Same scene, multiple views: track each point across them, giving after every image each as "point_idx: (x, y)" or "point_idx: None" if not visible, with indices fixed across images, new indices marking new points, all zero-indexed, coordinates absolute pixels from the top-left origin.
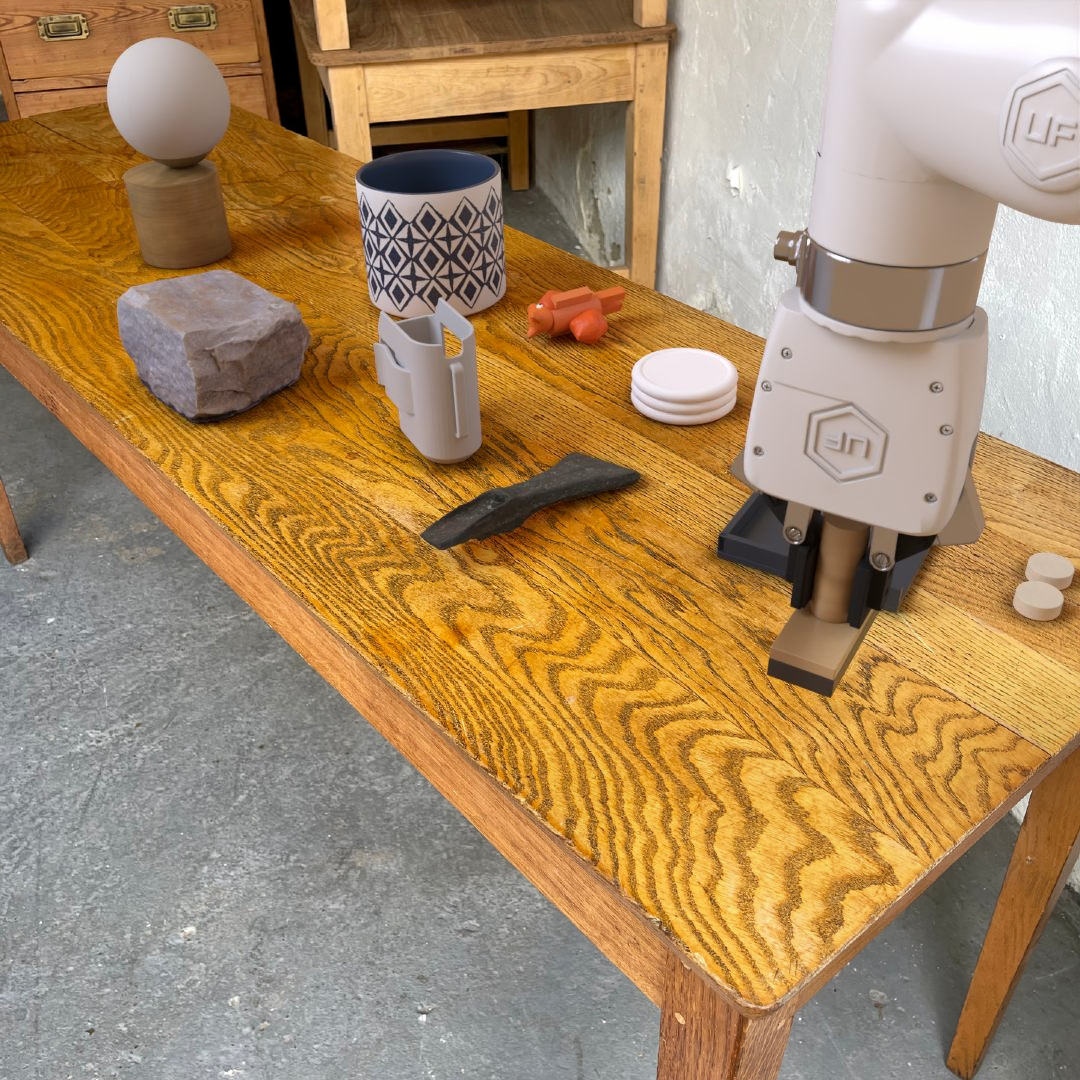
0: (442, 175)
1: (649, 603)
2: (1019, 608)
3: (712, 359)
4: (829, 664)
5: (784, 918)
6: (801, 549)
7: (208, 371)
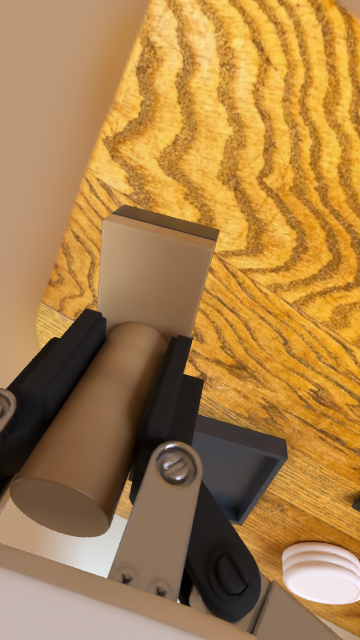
0: None
1: (340, 394)
2: None
3: (303, 593)
4: (114, 230)
5: (187, 53)
6: (160, 429)
7: None
